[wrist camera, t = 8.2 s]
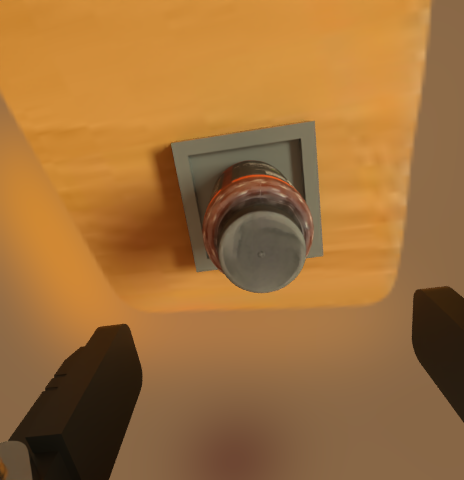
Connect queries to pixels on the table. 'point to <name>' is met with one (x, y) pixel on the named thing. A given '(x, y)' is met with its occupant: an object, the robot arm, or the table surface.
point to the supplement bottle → (257, 227)
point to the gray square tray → (241, 149)
